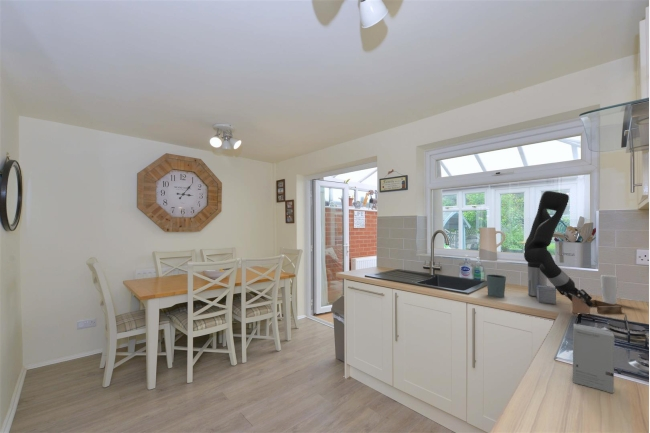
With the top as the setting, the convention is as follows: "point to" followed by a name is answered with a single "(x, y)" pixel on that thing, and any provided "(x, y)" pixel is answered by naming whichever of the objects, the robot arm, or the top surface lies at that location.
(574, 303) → the terracotta block
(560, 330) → the top surface
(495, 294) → the green plant pot
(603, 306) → the frame
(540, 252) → the robot arm
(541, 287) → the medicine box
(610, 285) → the drinking glass
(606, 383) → the grey upright rectangular block
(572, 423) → the top surface
